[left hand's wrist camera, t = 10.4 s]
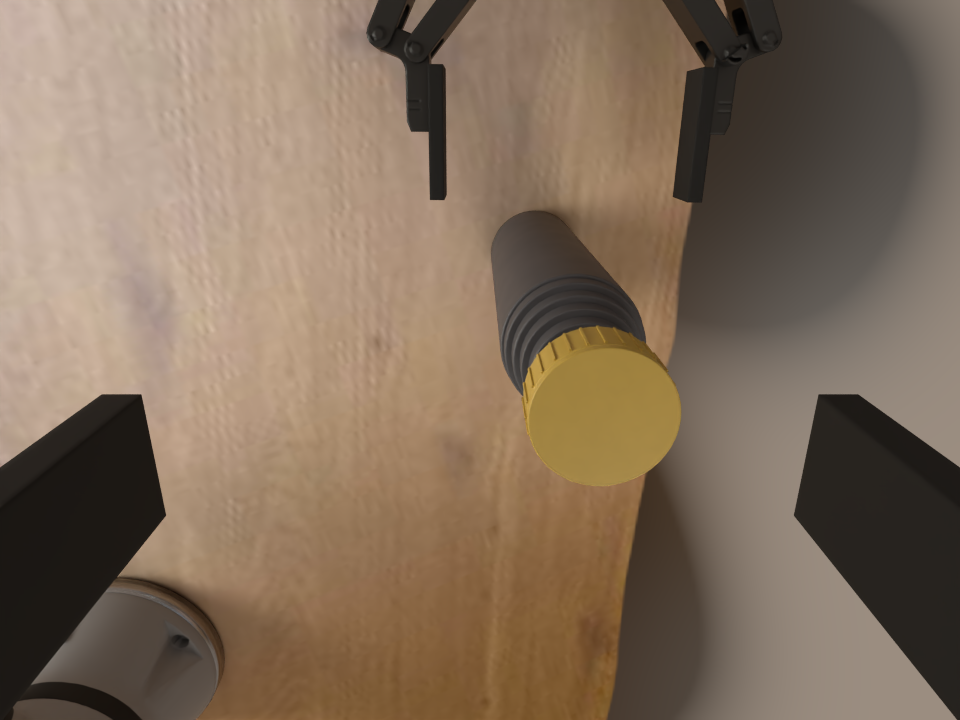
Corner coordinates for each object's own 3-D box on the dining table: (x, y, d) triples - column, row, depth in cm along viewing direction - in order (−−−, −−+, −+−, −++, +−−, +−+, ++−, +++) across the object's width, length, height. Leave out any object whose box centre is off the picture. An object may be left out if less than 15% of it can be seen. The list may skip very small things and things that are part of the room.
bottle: (530, 311, 44) (591, 527, 20) (473, 252, 42) (468, 411, 19) (593, 254, 42) (735, 416, 19) (536, 192, 41) (614, 283, 17)
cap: (584, 480, 22) (595, 514, 20) (492, 390, 20) (493, 418, 18) (692, 394, 20) (715, 422, 19) (601, 294, 19) (615, 313, 17)
